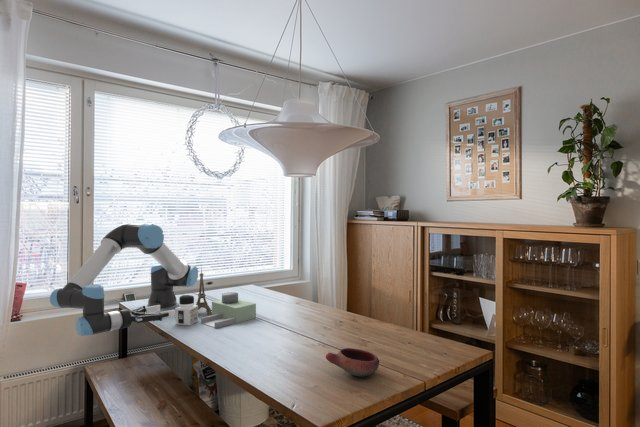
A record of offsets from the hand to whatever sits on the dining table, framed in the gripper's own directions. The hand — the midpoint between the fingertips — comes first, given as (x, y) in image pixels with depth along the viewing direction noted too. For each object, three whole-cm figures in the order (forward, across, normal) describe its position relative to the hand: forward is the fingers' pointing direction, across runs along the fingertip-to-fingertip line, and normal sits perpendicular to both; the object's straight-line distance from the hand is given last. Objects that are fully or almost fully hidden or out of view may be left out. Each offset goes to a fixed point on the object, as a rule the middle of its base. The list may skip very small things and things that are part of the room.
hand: (167, 310), depth 188 cm
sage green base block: (+25, +8, -8) cm, 28 cm away
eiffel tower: (+24, -10, -8) cm, 27 cm away
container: (+10, 0, -8) cm, 13 cm away
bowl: (+14, +97, -8) cm, 98 cm away
